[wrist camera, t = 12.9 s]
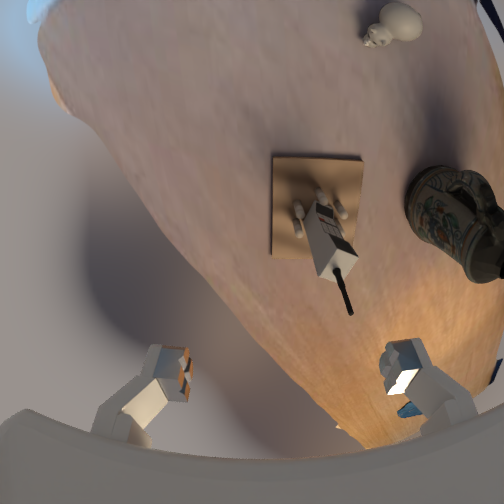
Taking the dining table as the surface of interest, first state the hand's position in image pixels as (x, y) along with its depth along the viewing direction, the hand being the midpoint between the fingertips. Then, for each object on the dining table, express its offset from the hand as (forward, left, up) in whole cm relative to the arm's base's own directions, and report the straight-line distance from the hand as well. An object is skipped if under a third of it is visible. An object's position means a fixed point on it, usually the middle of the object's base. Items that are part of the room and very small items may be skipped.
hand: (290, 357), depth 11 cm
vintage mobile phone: (+12, +9, -40) cm, 43 cm away
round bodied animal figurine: (-23, +20, -41) cm, 52 cm away
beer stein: (+8, +34, -41) cm, 54 cm away
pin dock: (+12, +9, -41) cm, 44 cm away
